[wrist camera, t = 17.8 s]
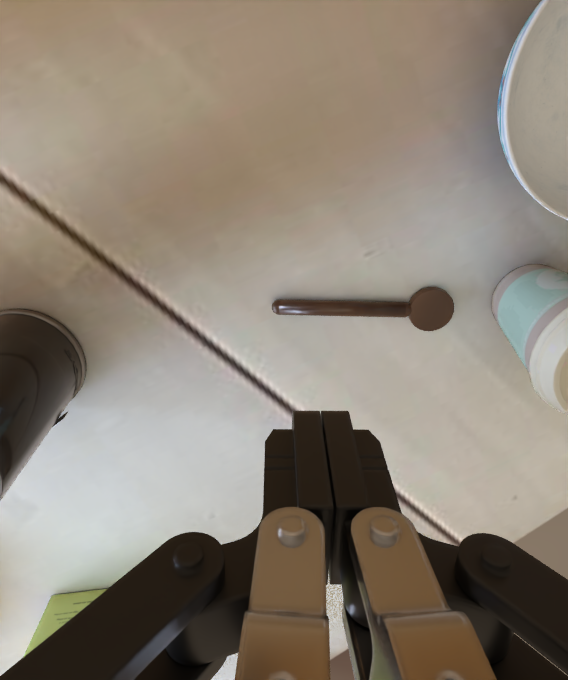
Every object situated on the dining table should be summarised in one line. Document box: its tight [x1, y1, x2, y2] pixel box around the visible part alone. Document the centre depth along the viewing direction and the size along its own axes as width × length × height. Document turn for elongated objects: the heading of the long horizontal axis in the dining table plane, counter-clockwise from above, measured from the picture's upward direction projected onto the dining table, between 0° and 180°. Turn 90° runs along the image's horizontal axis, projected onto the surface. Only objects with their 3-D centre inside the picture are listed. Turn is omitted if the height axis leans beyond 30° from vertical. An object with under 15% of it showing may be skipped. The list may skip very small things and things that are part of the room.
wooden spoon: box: [272, 287, 454, 331], centre depth 40 cm, size 15×4×1 cm, turn 89°
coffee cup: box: [492, 264, 568, 415], centre depth 35 cm, size 8×8×12 cm
